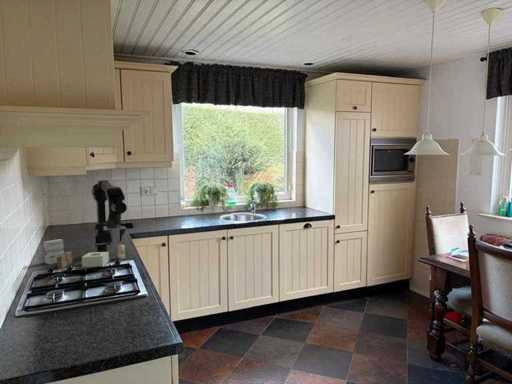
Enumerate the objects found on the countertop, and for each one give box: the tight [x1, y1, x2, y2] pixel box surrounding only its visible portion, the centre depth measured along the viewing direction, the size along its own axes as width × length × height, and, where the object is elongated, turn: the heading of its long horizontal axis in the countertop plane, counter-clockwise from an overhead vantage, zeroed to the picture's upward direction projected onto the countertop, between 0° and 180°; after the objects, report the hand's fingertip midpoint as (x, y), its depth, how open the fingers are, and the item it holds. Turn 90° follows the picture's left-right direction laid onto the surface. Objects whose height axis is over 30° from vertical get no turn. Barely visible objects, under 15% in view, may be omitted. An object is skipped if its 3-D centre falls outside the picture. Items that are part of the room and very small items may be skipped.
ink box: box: [43, 238, 65, 265], centre depth 207 cm, size 9×5×12 cm, turn 141°
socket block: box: [81, 251, 110, 268], centre depth 196 cm, size 10×10×5 cm
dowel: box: [117, 244, 126, 260], centre depth 208 cm, size 4×4×8 cm
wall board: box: [56, 250, 73, 270], centre depth 196 cm, size 13×32×7 cm, turn 94°
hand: (116, 242), depth 196 cm, fingers open, 4 cm apart
